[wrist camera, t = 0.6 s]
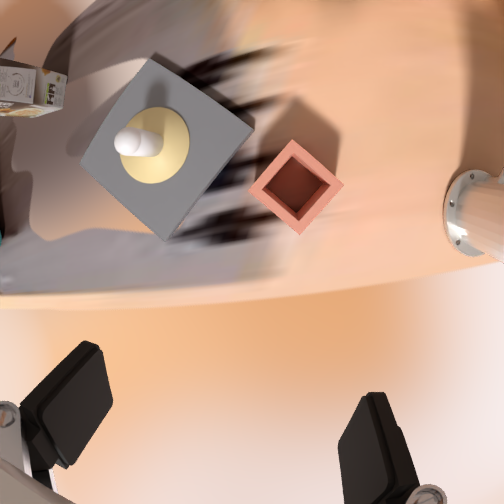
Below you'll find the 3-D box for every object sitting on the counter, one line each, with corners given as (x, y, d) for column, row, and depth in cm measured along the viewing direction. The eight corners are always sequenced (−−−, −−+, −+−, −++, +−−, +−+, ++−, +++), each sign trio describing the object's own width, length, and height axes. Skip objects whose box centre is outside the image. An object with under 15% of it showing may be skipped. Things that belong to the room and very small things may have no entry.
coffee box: (68, 74, 32) (-2, 54, 17) (63, 109, 34) (-11, 99, 19) (35, 87, 33) (-30, 77, 18) (31, 119, 35) (-37, 116, 20)
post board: (153, 61, 31) (120, 37, 22) (254, 130, 33) (243, 116, 24) (85, 163, 36) (42, 166, 27) (169, 239, 38) (136, 259, 29)
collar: (290, 144, 33) (292, 139, 27) (334, 182, 33) (344, 184, 28) (253, 187, 35) (247, 190, 29) (297, 224, 35) (299, 234, 30)
